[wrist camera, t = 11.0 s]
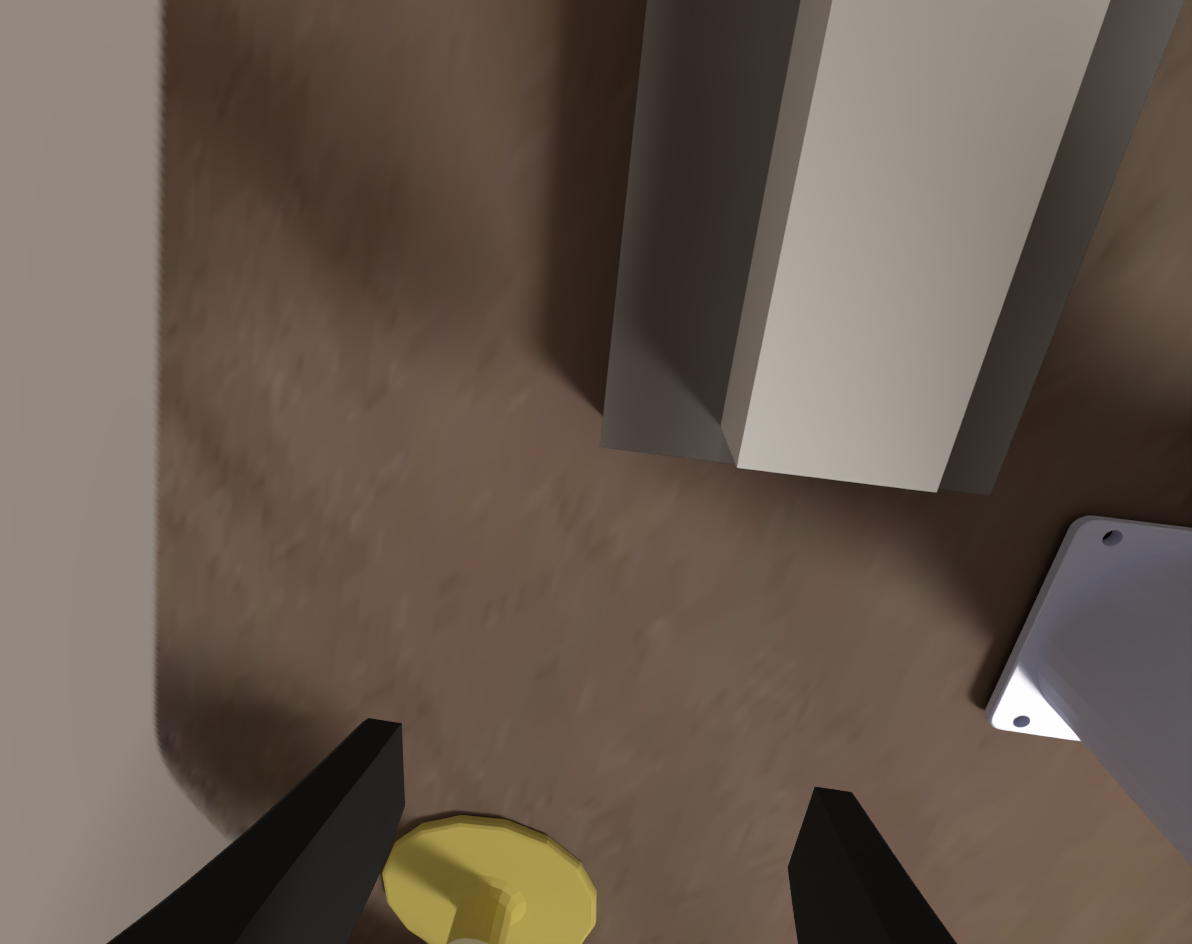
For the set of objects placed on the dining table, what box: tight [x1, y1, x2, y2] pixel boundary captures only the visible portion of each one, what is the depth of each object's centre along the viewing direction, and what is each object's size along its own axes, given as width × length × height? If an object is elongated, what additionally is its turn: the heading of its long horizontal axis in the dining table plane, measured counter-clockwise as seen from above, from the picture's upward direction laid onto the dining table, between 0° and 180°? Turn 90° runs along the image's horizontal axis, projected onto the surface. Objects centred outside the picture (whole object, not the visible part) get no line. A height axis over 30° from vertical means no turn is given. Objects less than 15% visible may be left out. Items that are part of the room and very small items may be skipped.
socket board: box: [600, 0, 1184, 496], centre depth 13 cm, size 10×14×2 cm
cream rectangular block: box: [721, 0, 1110, 493], centre depth 12 cm, size 4×12×6 cm, turn 175°
